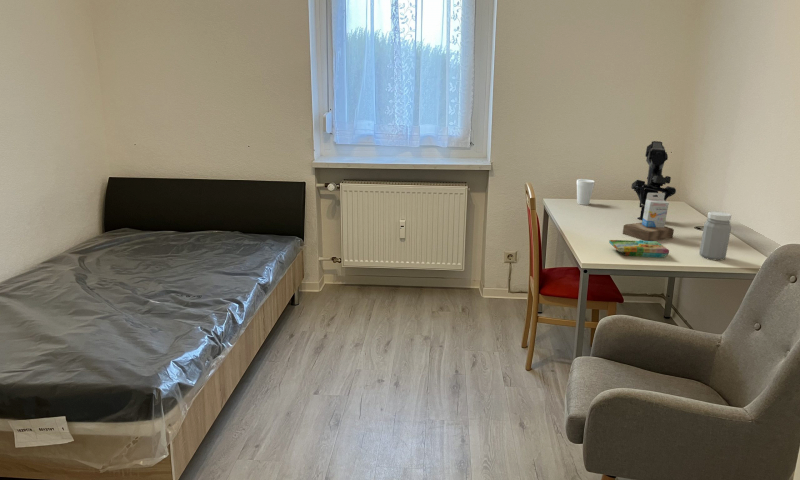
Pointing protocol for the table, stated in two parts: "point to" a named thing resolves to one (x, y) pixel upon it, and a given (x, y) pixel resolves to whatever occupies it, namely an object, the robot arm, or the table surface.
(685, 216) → the table surface
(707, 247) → the jar
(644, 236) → the walnut box
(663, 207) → the ink box
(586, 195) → the foam cup
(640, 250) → the puzzle game
